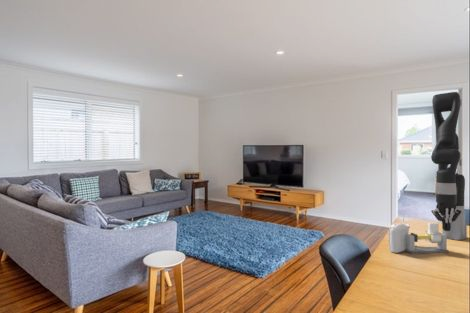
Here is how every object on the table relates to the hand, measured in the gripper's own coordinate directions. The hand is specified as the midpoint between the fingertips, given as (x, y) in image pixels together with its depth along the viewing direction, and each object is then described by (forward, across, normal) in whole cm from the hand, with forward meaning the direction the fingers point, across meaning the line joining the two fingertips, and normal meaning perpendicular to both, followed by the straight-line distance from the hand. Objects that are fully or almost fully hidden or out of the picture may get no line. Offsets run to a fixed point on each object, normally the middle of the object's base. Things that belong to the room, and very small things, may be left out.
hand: (446, 230), depth 130 cm
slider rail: (+9, +10, 0) cm, 13 cm away
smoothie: (+9, +14, -10) cm, 20 cm away
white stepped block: (+5, +6, 0) cm, 8 cm away
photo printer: (+9, +21, -2) cm, 23 cm away
